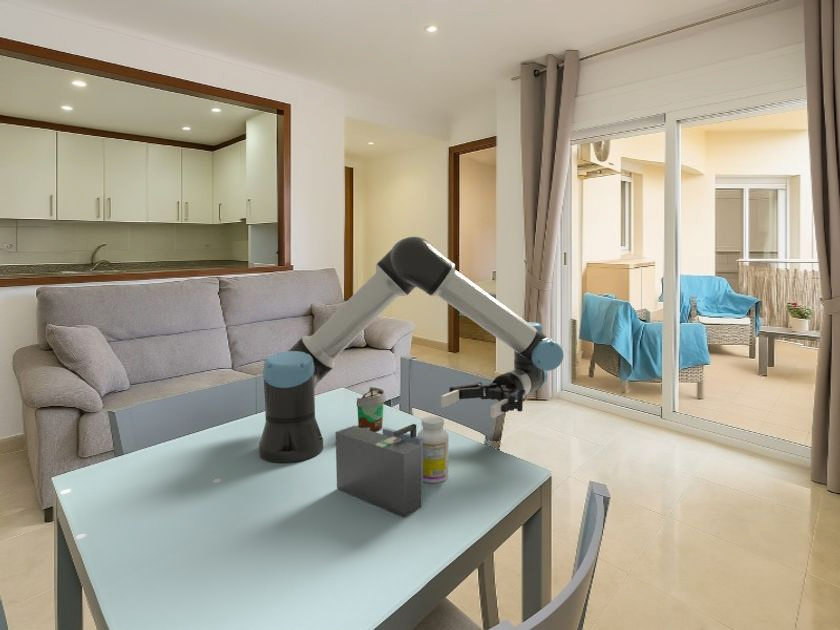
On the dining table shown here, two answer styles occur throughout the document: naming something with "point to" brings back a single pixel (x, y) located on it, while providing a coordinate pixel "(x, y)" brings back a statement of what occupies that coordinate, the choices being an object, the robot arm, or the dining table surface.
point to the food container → (371, 409)
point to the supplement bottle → (434, 449)
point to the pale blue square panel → (407, 439)
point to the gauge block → (379, 469)
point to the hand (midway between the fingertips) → (466, 406)
